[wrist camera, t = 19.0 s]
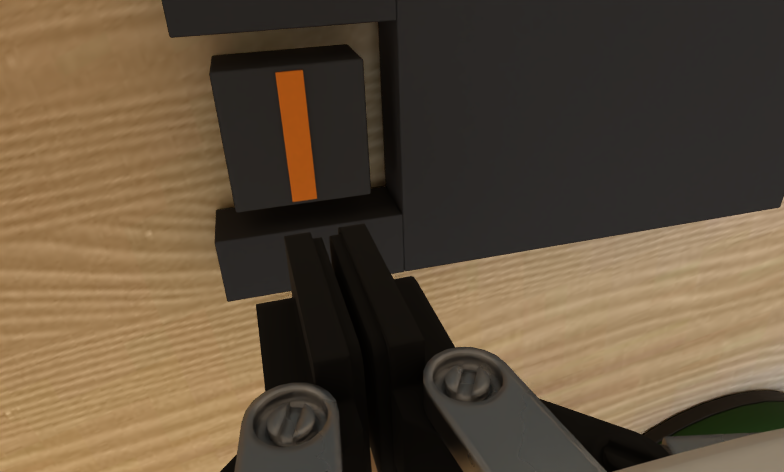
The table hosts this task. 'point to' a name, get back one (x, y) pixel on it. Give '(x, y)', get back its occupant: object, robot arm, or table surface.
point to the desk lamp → (727, 416)
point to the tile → (292, 125)
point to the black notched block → (531, 124)
